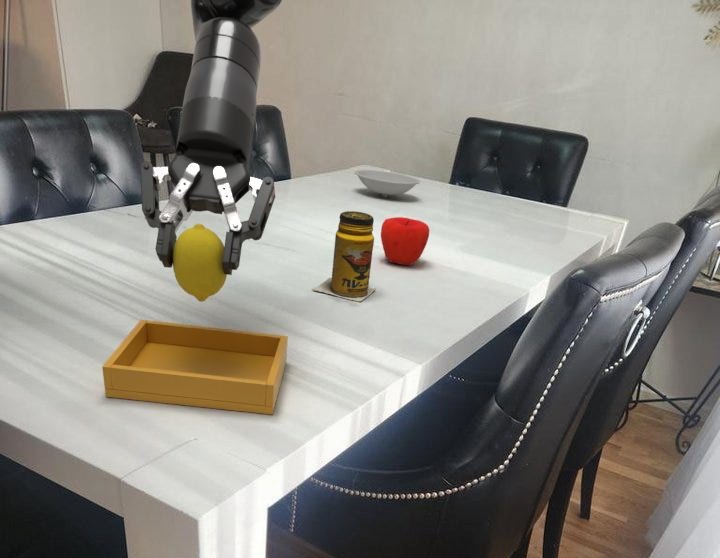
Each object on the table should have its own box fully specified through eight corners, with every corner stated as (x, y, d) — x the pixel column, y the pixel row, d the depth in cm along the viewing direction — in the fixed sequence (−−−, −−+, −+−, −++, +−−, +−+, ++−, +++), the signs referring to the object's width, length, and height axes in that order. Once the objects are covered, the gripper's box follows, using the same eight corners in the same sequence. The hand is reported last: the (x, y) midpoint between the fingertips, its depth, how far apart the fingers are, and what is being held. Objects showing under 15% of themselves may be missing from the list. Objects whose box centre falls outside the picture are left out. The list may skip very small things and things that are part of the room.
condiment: (360, 302, 102) (369, 223, 95) (311, 290, 104) (317, 212, 97) (376, 290, 107) (385, 214, 101) (329, 279, 109) (335, 204, 103)
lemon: (227, 293, 72) (227, 218, 68) (227, 312, 68) (227, 233, 63) (176, 291, 71) (172, 214, 66) (173, 309, 66) (168, 229, 62)
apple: (383, 269, 118) (389, 224, 114) (372, 254, 125) (377, 212, 121) (429, 271, 120) (437, 227, 116) (416, 257, 127) (423, 215, 123)
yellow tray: (105, 397, 68) (102, 366, 66) (143, 346, 79) (141, 319, 77) (272, 414, 69) (273, 385, 67) (286, 362, 80) (287, 335, 78)
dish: (344, 194, 170) (346, 173, 167) (362, 186, 181) (364, 167, 179) (409, 206, 166) (412, 186, 163) (422, 198, 178) (425, 178, 175)
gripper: (140, 84, 64) (113, 238, 61) (284, 103, 65) (264, 256, 62) (158, 137, 72) (135, 277, 69) (287, 153, 73) (270, 292, 69)
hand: (196, 266), depth 65 cm, fingers closed on lemon, 5 cm apart
